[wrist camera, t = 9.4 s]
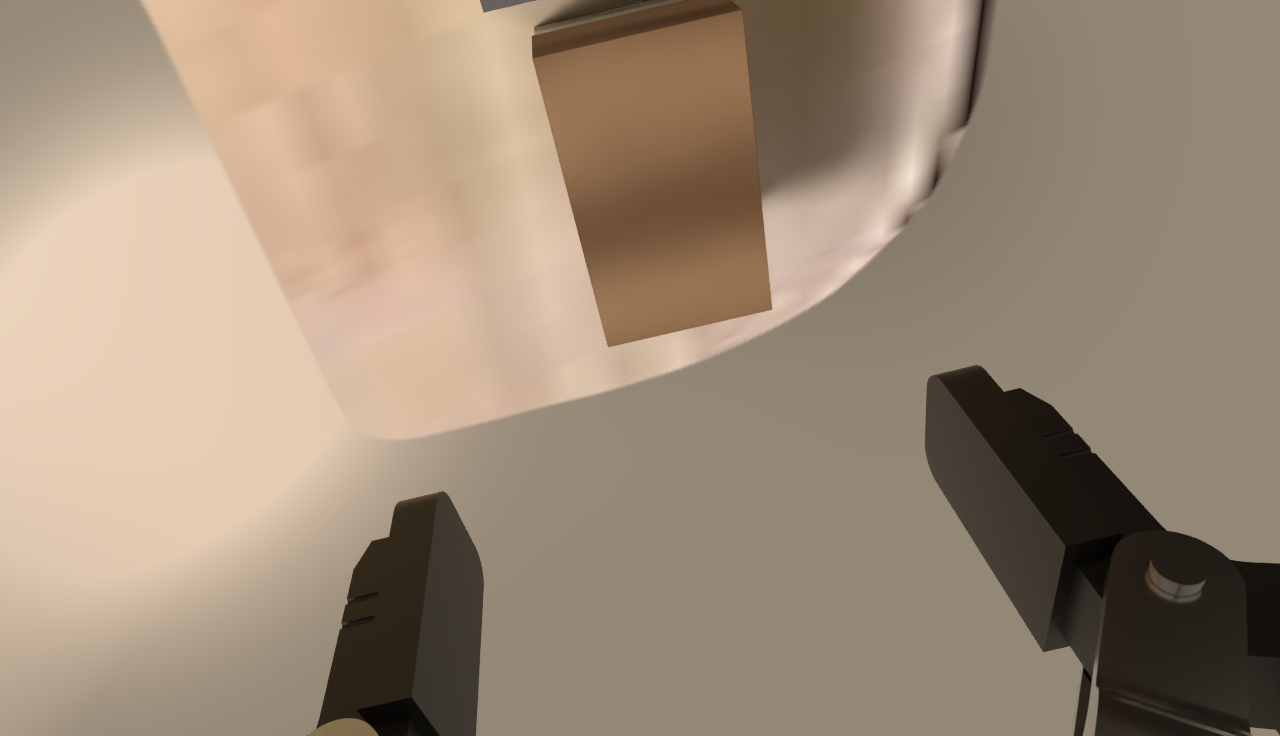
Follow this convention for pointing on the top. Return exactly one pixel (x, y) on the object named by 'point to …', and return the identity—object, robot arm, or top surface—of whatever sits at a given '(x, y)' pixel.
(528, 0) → the mat
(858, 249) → the top surface
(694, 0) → the lid
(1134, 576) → the robot arm
